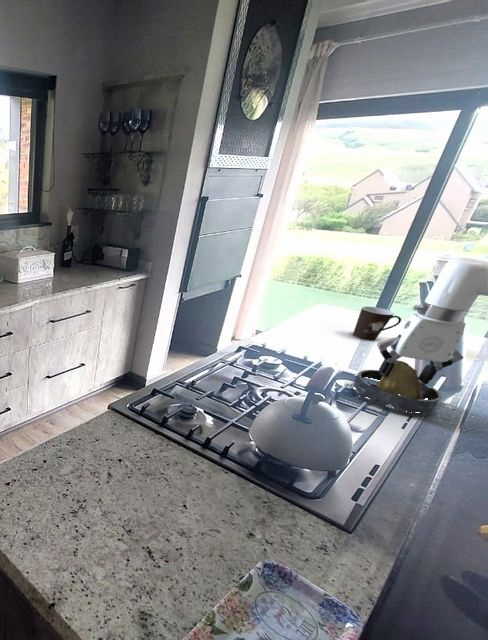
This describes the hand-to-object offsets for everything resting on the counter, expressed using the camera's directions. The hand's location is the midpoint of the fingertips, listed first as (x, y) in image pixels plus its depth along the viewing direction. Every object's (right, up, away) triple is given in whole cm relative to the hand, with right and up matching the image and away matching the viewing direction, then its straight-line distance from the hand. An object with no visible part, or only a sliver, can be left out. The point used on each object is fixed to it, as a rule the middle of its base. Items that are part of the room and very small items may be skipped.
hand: (402, 377), depth 103 cm
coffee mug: (+30, +14, +41) cm, 53 cm away
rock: (0, -6, +3) cm, 6 cm away
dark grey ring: (0, -6, +3) cm, 6 cm away
